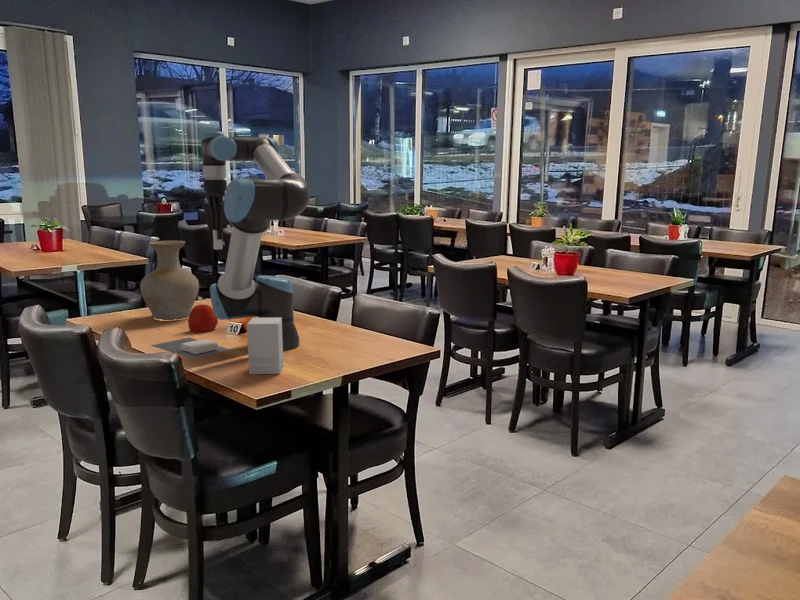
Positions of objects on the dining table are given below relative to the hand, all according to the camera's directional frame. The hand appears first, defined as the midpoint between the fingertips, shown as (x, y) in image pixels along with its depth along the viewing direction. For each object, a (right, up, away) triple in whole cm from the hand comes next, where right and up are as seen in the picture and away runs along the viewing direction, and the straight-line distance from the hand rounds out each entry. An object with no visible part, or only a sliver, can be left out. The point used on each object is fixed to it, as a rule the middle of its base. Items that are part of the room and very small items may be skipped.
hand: (218, 249), depth 227 cm
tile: (-5, -32, -14) cm, 35 cm away
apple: (-9, -29, +13) cm, 33 cm away
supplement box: (+23, -38, -32) cm, 55 cm away
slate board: (-5, -34, -12) cm, 37 cm away
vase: (-28, -25, +37) cm, 53 cm away
